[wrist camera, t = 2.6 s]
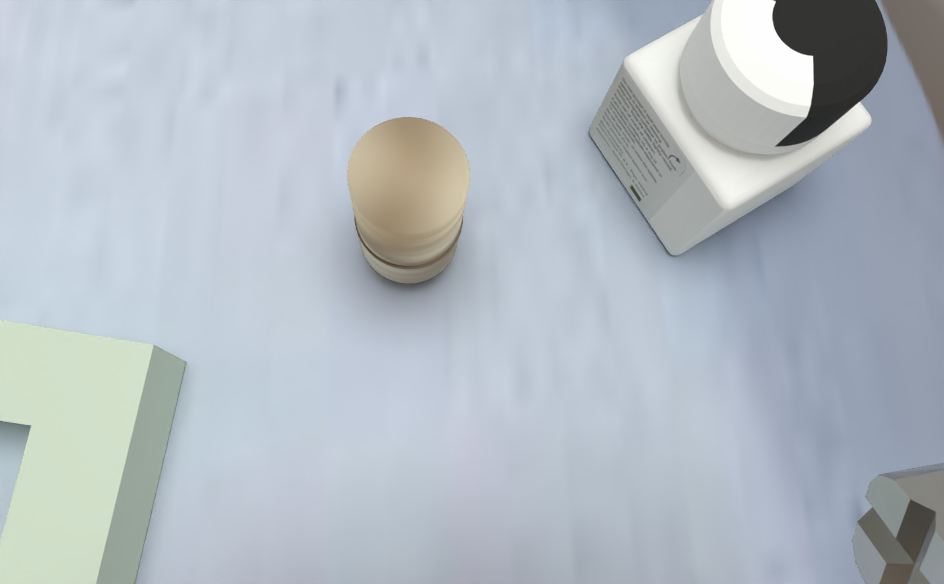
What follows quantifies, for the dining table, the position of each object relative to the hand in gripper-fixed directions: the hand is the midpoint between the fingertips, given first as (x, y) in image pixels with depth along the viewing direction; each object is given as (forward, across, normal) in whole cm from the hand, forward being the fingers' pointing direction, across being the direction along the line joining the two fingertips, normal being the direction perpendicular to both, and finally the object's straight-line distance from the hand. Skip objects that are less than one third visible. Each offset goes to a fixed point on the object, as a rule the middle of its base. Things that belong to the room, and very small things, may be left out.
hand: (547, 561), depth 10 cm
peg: (+28, +1, -12) cm, 31 cm away
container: (+30, +15, -10) cm, 35 cm away
